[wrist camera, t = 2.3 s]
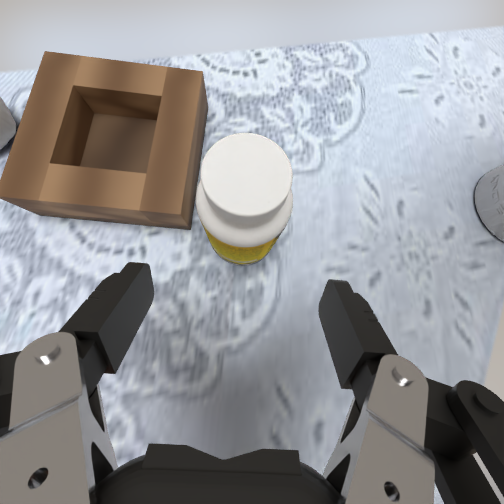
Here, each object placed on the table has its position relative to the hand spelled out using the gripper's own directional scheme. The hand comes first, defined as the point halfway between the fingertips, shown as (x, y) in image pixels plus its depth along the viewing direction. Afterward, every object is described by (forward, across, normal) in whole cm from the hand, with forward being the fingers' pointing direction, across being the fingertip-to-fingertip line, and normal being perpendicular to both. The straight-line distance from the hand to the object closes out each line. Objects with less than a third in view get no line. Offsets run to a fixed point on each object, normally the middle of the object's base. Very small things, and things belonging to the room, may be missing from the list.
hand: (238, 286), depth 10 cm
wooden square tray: (+16, +12, -1) cm, 20 cm away
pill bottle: (+12, 0, +4) cm, 12 cm away
